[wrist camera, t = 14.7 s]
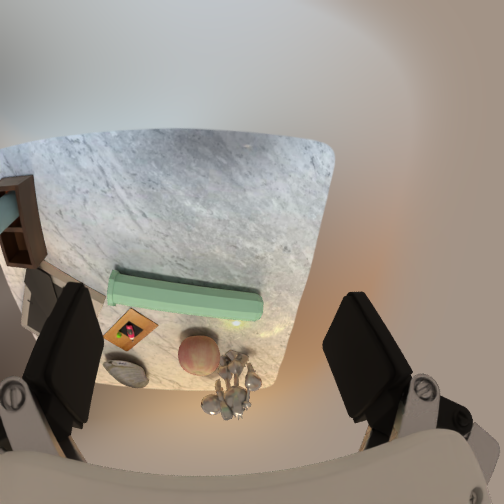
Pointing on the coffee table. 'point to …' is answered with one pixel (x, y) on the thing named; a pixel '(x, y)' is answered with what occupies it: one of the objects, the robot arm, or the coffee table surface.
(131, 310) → the board
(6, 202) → the bottle
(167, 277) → the coffee table surface
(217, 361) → the apple
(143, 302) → the container
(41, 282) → the picture frame
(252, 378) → the robot toy
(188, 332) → the coffee table surface
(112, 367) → the seashell
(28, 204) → the holder
